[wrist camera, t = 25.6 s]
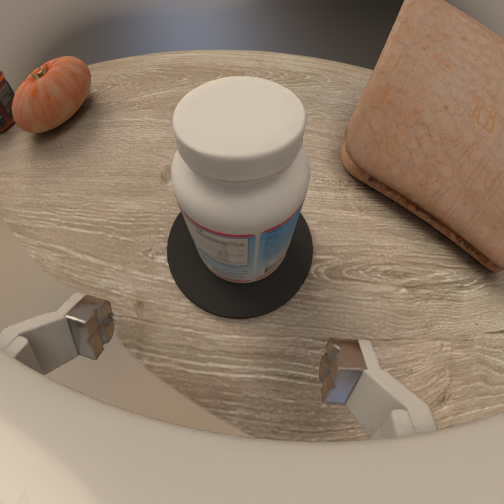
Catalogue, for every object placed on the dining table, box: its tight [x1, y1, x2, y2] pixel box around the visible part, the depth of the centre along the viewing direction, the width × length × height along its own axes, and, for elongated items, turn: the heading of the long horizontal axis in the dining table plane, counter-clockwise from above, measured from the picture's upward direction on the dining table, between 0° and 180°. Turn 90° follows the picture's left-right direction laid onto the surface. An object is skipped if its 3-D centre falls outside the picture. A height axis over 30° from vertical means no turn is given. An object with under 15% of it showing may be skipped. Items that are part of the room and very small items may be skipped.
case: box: [340, 0, 504, 273], centre depth 16 cm, size 20×21×16 cm
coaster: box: [167, 212, 313, 319], centre depth 19 cm, size 10×10×1 cm
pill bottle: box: [171, 76, 310, 283], centre depth 14 cm, size 6×6×11 cm
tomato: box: [12, 56, 91, 133], centre depth 22 cm, size 11×11×8 cm
